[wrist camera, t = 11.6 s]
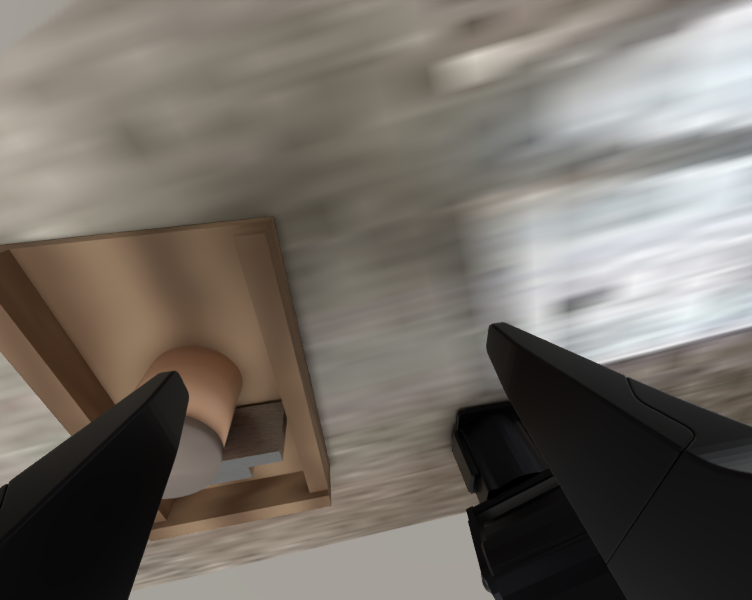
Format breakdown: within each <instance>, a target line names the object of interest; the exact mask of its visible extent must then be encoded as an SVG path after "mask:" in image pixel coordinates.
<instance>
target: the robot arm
mask: <svg viewBox="0 0 752 600" xmlns="http://www.w3.org/2000/svg"><path fill="white" fill-rule="evenodd" d="M486 349H487V353H488V355H489V358H490V360H491V362H492V364H493V366H494V369H495V371H496V373H497V375H498V378H499V380H500V382H501V384H502V386H503V389H504V391H505V393H506V395H507V397H508V398H509V400H510V402H508V403H502V404H496V405H491V406H485V407H479V408H474V409H468V410H463V411H460V412H459V413H458V414H457V423H456V431H455V432H454V434H453V445H452V452H453V454H454V457H455V459H456V462H457V464H458V467H459V469H460V472H461V474H462V477H463V479H464V482H465V484H466V487H467V489H468V491H469V492H470V493H471V494H473V493H476V495H477V497H478V499H479V502H480V504H478V505H476V506H474V507H473V506H471V507H469V508H467V509H466V511H467V515H468V519H469V521H468V523H469V527H470V531H471V535H472V539H473V543H474V547H475V551H476V554H477V558H478V562H479V566H480V570H481V577H482V583H483V585H484V587H485V589H486V590H487V591H488V592H490V593H491V594H492V595H493V596H494V598H495V600H752V426H749V425H747V424H744V423H741V422H739V421H736V420H734V419H731V418H728V417H726V416H723V415H720V414H718V413H715V412H713V411H710V410H707V409H705V408H702V407H700V406H697V405H694V404H692V403H689V402H687V401H684V400H682V399H679V398H677V397H674V396H672V395H669V394H667V393H664V392H662V391H660V390H657V389H655V388H652V387H650V386H648V385H645V384H643V383H641V382H639V381H636V380H634V379H632V378H630V377H625V375H623V374H620V373H618V372H616V371H614V370H611V369H609V368H607V367H605V366H602V365H600V364H598V363H595V362H593V361H591V360H589V359H586V358H584V357H582V356H580V355H577V354H575V353H573V352H571V351H568V350H566V349H564V348H561V347H559V346H557V345H555V344H552V343H550V342H548V341H546V340H543V339H541V338H539V337H536V336H534V335H532V334H530V333H527V332H525V331H523V330H521V329H518V328H516V327H514V326H512V325H509V324H507V323H505V322H500V323H493V324H491V325H490V326H489V329H488V336H487V343H486ZM188 403H189V392H188V390H187V388H186V386H185V384H184V382H183V380H182V378H181V376H180V374H179V373H178V372H177V371H174V370H173V371H166V372H161V373H158V374H157V375H155V376H154V377H153V378H151V379H150V380H149V381H147V382H146V383H144V384H143V385H142V386H140V387H139V388H138V389H136V390H135V391H133V392H132V393H131V394H129V395H128V396H126V397H125V398H124V399H122V400H121V401H120V402H118V403H117V404H115V405H114V406H113V407H111V408H110V409H109V410H107V411H106V412H104V413H103V414H102V415H100V416H99V417H97V418H96V419H95V420H93V421H92V422H91V423H89V424H88V425H86V426H85V427H84V428H82V429H81V430H80V431H78V432H77V433H75V434H74V435H73V436H71V437H70V438H68V439H67V440H66V441H64V442H63V443H62V444H60V445H59V446H57V447H56V448H55V449H53V450H52V451H51V452H49V453H48V454H46V455H45V456H44V457H42V458H41V459H39V460H38V461H37V462H35V463H34V464H33V465H31V466H30V467H28V468H27V469H26V470H24V471H23V472H22V473H20V474H19V475H17V476H16V477H15V478H13V479H12V480H11V481H10V482H9V484H5V485H3V486H2V487H1V488H0V600H128V598H129V595H130V592H131V589H132V586H133V583H134V580H135V577H136V574H137V571H138V569H139V566H140V563H141V560H142V557H143V554H144V551H145V548H146V545H147V542H148V539H149V536H150V533H151V530H152V527H153V524H154V521H155V518H156V515H157V512H158V509H159V506H160V503H161V500H162V497H163V494H164V491H165V488H166V485H167V482H168V479H169V477H170V474H171V471H172V468H173V465H174V462H175V458H176V455H177V452H178V448H179V444H180V439H181V435H182V430H183V426H184V421H185V416H186V412H187V407H188Z"/></svg>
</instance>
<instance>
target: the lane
mask: <svg viewBox="0 0 752 600" xmlns="http://www.w3.org/2000/svg"><path fill="white" fill-rule="evenodd" d="M185 346H196V347H203V348H208V349H211V350H214V351H217V352H219V353H221V354H223V355H225V356H226V357H228V358H229V359H230V360H231V361H232V362H233V363H234V364H235V365H236V366H237V367H238V369H239V371H240V373H241V376H242V388H241V391H240V395H239V398H238V402H237V405H236V409H238V408H244V407H250V406H256V405H263V404H269V403H275V402H281V401H282V403H283V406H284V409H285V413H286V416H287V426H286V436H285V445H284V455H283V461H281V462H275V463H270V464H264V465H259V466H254V472H253V477H251V478H246V479H240V480H235V481H229V482H224V483H218V484H213V485H208V486H207V487H205V488H204V489H202V490H200V491H198V492H196V493H193V494H190V495H187V496H183V497H178V498H170V499H162V500H161V503H160V506H159V509H158V512H157V515H156V518H155V521H154V524H153V527H152V530H151V533H150V536H149V539H150V540H151V541H155V540H160V539H165V538H170V537H175V536H180V535H185V534H190V533H195V532H201V531H206V530H211V529H216V528H221V527H226V526H231V525H236V524H241V523H246V522H251V521H256V520H261V519H266V518H271V517H276V516H281V515H286V514H292V513H297V512H302V511H307V510H312V509H317V508H322V507H327V506H331V484H330V464H329V460H328V455H327V451H326V447H325V442H324V438H323V433H322V429H321V425H320V420H319V416H318V412H317V407H316V403H315V399H314V394H313V390H312V385H311V381H310V377H309V372H308V368H307V364H306V359H305V355H304V351H303V346H302V342H301V337H300V333H299V329H298V324H297V320H296V316H295V311H294V307H293V303H292V298H291V294H290V289H289V285H288V281H287V276H286V272H285V268H284V263H283V259H282V255H281V250H280V246H279V242H278V237H277V233H276V228H275V224H274V220H273V217H263V218H253V219H244V220H234V221H225V222H215V223H206V224H196V225H187V226H177V227H167V228H158V229H148V230H139V231H129V232H120V233H110V234H101V235H91V236H81V237H72V238H62V239H53V240H43V241H34V242H24V243H15V244H5V245H0V352H1V353H2V354H3V355H4V357H5V358H6V359H7V360H8V361H9V362H10V364H11V365H12V366H13V367H14V368H15V370H16V371H17V372H18V373H19V374H20V376H21V377H22V378H23V379H24V380H25V381H26V383H27V384H28V385H29V386H30V387H31V389H32V390H33V391H34V392H35V393H36V395H37V396H38V397H39V398H40V399H41V400H42V402H43V403H44V404H45V405H46V406H47V408H48V409H49V410H50V411H51V412H52V414H53V415H54V416H55V417H56V418H57V419H58V421H59V422H60V423H61V424H62V425H63V427H64V428H65V429H66V430H67V431H68V432H69V434H70V435H71V436H73V435H74V434H75V433H77V432H78V431H80V430H81V429H82V428H84V427H85V426H86V425H88V424H89V423H91V422H92V421H93V420H95V419H96V418H97V417H99V416H100V415H102V414H103V413H104V412H106V411H107V410H109V409H110V408H111V407H113V406H114V405H115V404H117V403H118V402H120V401H121V400H122V399H124V398H125V397H126V396H128V395H129V394H131V393H132V392H133V391H134V389H135V388H136V386H137V385H138V383H139V382H140V380H141V379H142V377H143V376H144V375H145V373H146V372H147V370H148V369H149V367H150V366H151V364H152V363H153V362H154V360H155V359H156V358H157V357H158V356H160V355H161V354H163V353H164V352H166V351H168V350H171V349H174V348H178V347H185Z"/></svg>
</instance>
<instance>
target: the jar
mask: <svg viewBox="0 0 752 600" xmlns="http://www.w3.org/2000/svg"><path fill="white" fill-rule="evenodd" d="M173 370H174V371H177V372H178V373H179V374H180V376H181V378H182V380H183V382H184V384H185V386H186V388H187V390H188V392H189V403H188V407H187V412H186V416H185V421H184V426H183V430H182V435H181V439H180V444H179V448H178V452H177V455H176V458H175V462H174V465H173V468H172V471H171V474H170V477H169V479H168V482H167V485H166V488H165V491H164V494H163V497H162V499H170V498H178V497H183V496H187V495H190V494H193V493H196V492H198V491H200V490H202V489H204V488H205V487H207V486H208V485H210V484H211V483H212V482H213V481H214V480H215V478H216V477H217V475H218V473H219V470H220V467H221V463H222V460H223V456H224V446H225V443H226V439H227V436H228V432H229V429H230V426H231V422H232V419H233V415H234V412H235V409H236V405H237V402H238V398H239V395H240V391H241V388H242V376H241V373H240V371H239V369H238V367H237V366H236V365H235V364H234V363H233V362H232V361H231V360H230V359H229V358H228V357H226V356H225V355H223V354H221V353H219V352H217V351H214V350H211V349H208V348H203V347H196V346H185V347H178V348H174V349H171V350H168V351H166V352H164V353H163V354H161V355H160V356H158V357H157V358H156V359H155V360H154V362H153V363H152V364H151V366H150V367H149V369H148V370H147V372H146V373H145V375H144V376H143V377H142V379H141V380H140V382H139V383H138V385H137V386H136V388H135V389H134V391H135V390H136V389H138V388H139V387H140V386H142V385H143V384H144V383H146V382H147V381H149V380H150V379H151V378H153V377H154V376H155V375H157V374H158V373H161V372H166V371H173Z"/></svg>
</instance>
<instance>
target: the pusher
mask: <svg viewBox="0 0 752 600" xmlns="http://www.w3.org/2000/svg"><path fill="white" fill-rule="evenodd" d="M286 426H287V416H286V413H285V409H284V406H283V403H282V401H281V402H275V403H269V404H263V405H256V406H250V407H244V408H238V409H235V412H234V415H233V419H232V422H231V426H230V429H229V432H228V436H227V439H226V443H225V446H224V456H223V460H222V463H221V467H220V470H219V473H218V475H217V477H216V478H215V480H214V481H213V482H212V483H211V484H210V485H213V484H218V483H224V482H229V481H235V480H240V479H246V478H251V477H253V472H254V466H259V465H264V464H270V463H275V462H281V461H283V455H284V445H285V436H286Z"/></svg>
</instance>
